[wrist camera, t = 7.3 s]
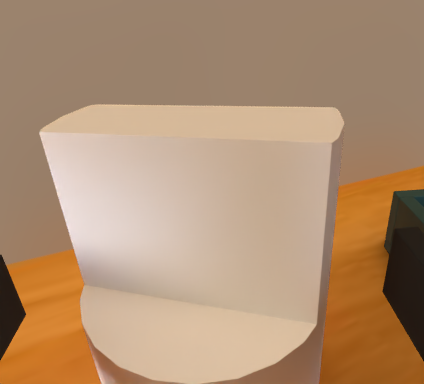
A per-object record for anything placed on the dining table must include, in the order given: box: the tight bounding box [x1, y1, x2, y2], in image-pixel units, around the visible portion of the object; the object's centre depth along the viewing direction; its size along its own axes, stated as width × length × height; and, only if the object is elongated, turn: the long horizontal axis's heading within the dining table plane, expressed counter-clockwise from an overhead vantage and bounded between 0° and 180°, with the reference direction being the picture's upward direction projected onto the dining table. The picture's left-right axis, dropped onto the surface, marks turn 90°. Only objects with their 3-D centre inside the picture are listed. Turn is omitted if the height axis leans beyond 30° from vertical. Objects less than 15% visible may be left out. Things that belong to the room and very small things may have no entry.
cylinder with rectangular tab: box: [39, 105, 345, 384], centre depth 14 cm, size 9×9×12 cm
